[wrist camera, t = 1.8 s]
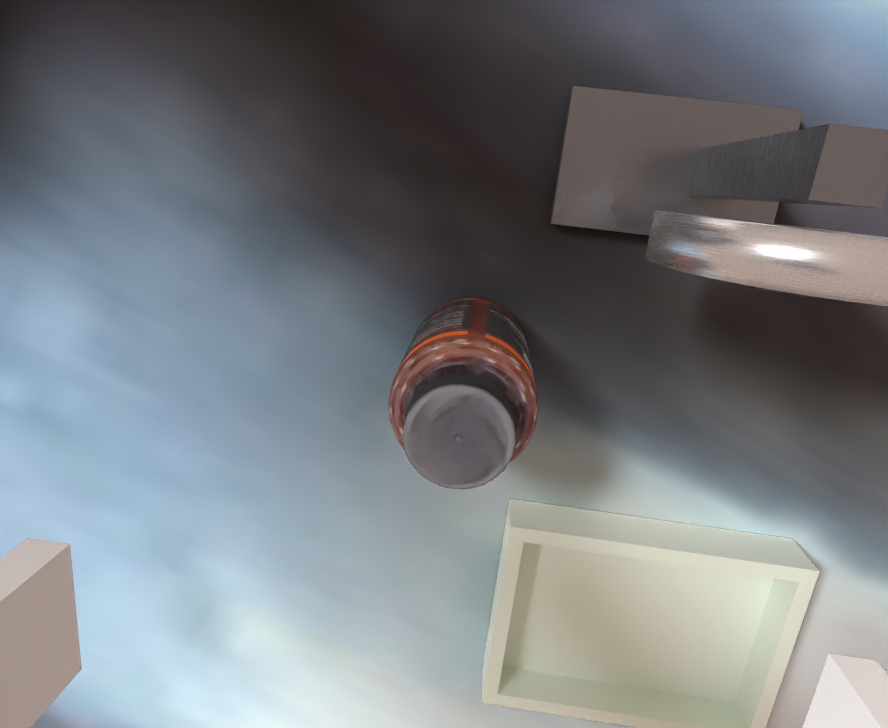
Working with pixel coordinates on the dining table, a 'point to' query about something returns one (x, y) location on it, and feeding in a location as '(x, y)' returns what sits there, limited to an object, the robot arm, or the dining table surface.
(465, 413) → the supplement bottle
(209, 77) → the dining table surface
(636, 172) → the pulley bracket
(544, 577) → the tray
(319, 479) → the dining table surface
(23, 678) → the robot arm
